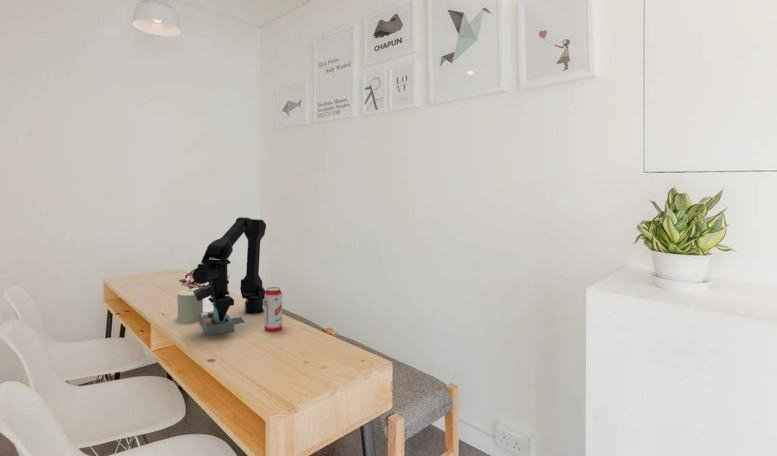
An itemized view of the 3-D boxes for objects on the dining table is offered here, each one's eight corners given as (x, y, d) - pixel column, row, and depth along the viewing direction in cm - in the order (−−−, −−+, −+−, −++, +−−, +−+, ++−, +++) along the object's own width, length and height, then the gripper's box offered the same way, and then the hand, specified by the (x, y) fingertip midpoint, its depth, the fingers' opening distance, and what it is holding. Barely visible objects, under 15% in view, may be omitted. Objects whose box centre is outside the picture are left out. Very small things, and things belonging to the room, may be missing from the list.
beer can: (284, 328, 153) (284, 287, 152) (278, 334, 147) (278, 291, 146) (268, 327, 154) (268, 286, 152) (261, 333, 148) (261, 290, 146)
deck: (240, 318, 163) (240, 317, 163) (245, 323, 157) (245, 322, 157) (226, 320, 160) (226, 319, 160) (230, 326, 154) (230, 324, 154)
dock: (223, 319, 161) (223, 307, 161) (234, 333, 147) (234, 319, 147) (199, 323, 156) (199, 310, 156) (207, 337, 142) (207, 323, 142)
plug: (224, 321, 151) (224, 301, 150) (226, 325, 148) (226, 303, 147) (212, 323, 149) (212, 302, 148) (215, 326, 146) (214, 305, 145)
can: (202, 315, 165) (201, 286, 164) (204, 322, 157) (204, 292, 156) (176, 318, 160) (176, 288, 159) (178, 325, 153) (177, 295, 151)
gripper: (190, 274, 150) (191, 315, 151) (199, 286, 134) (200, 331, 136) (222, 272, 156) (223, 311, 158) (234, 282, 140) (234, 325, 142)
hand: (219, 319), depth 148 cm, fingers closed on plug, 4 cm apart
